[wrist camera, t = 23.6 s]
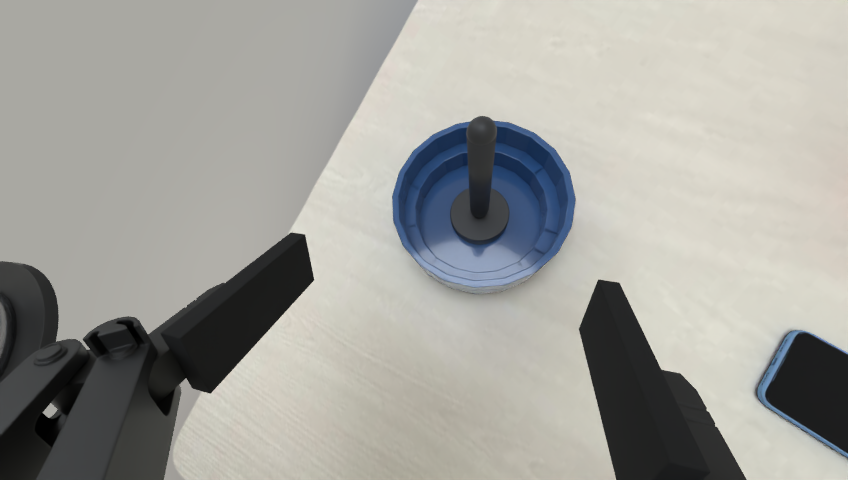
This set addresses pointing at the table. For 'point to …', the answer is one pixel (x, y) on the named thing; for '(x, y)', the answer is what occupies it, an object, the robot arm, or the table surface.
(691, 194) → the table surface
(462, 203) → the dark grey tamper
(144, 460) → the robot arm
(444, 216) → the bowl
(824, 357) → the smartphone
